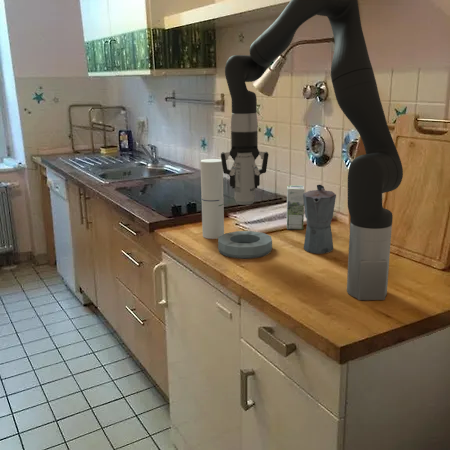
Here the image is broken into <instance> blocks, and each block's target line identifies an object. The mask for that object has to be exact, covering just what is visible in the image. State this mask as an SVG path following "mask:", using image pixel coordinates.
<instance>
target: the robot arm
mask: <svg viewBox="0 0 450 450" xmlns="http://www.w3.org/2000/svg"><path fill="white" fill-rule="evenodd" d="M315 16H322V17H327V19H328V21H329V23H330V27H331V31H332V34H333V39H334V40H333V41H334V51H333V55H332V61H331V65H330V80H331V83H332V87H333V88H332V89H333V92H334V96H335V98H336V99H335V100H336V102H337V104H338V106H339V108H340V109H341V111H342V113H343V114H344V116H345V117H346V118H347V119H348V120H349V123H351V124H352V126H353V127H354V128H355V130H356V131H357V132H358V134H359V136H360V138H361V141H362V144H363V147H364V151H365V154H361V155H358V156H355V158H354V159H353V160H352V161H351V163H350V165H349V167H348V172H347V209H348V213H349V215H350V220H349V221H350V222H349V223H350V224H349V239H348V240H349V242H348V257H347V259H348V260H347V280H346V292H347V294H348V295H349V296H351V297H353V298H355V299H357V300H358V301H385V300H386V297H387V295H388V294H387V293H388V282H389V267H390V256H391V255H390V254H391V239H392V231H393V230H392V228H393V215H394V214H393V213H392V211H391V210H389V209H387V208H385V207H384V206H383V194H385V193H388V192H389V193H390V192H392V191H395V190H397V189H398V188H399V186H400V185H401V183H402V181H403V178H404V177H403V176H404V169H403V165H402V160H401V157H400V155H399V153H398V150H397V147H396V145H395V142H394V139H393V136H392V134H391V132H390V127H389V126H388V122H387V119H386V115H385V111H384V108H383V104H382V101H381V98H380V93H379V90H378V84H377V80H376V77H375V72H374V69H373V67H372V63H371V60H370V56H369V51H368V48H367V43H366V40H365V36H364V31H363V27H362V21H361V15H360V8H359V1H358V0H290V1H289V2H288V4H287V5H286V6H285V8H284V9H283V10H282V12H280V14H279V15H278V17H277V18H276V19H275V20H274V21H273V23H271V24H270V26H269V27H267V29H265V30H264V31H263V32H262V33H261V34H260V35H259V36H258V37H257V38H256V39H255V40H254V41H253V42H252V43H251V45H250V46H249V55H248V54H247V55H245V54H244V55H243V54H242V55H241V54H235V55H231V56H229V58H228V59H227V61H226V63H225V67H224V74H225V80H226V83H227V87H228V90H229V95H230V98H231V99H230V100H231V118H230V119H231V120H230V142H231V143H230V147H231V148H230V150H229V151H227V152H224V151H223V152H220V159H221V160H222V166H223V175H224V174H225V175H228V176H229V186H230V187H232V189H235V177H234V173H235V169H236V161H235V157H236V156H237V153H251V152H252V155H253V157H254V160H255V162H254V160H253V164H254V165H253V168H254V171H255V189H258V187H259V186H260V185H261V180H260V177H261V175H263V174H265V173H267V169H268V161H269V152H268V151H260V150H259V147H258V143H259V142H258V138H259V137H258V134H259V133H258V128H259V127H258V115H257V104H258V103H257V94H256V92H254V91H251V90H248V88H247V85H246V83H253V82H255V81H257V80H259V79H260V78H261V77H262V76H263V75H264V74H265V72H267V69H268V68H269V66H270V65H271V63H273V61H275V60H276V59H277V58H278V57H279V56H281V55H282V54H283V53H284V52H285V51H286V50H287V49H288V48H289V46H290V45H291V43H292V41H293V39H294V36H295V35H296V32H297V30H298V29H299V28H300V27H301V26H302V25H303V24H304V23H305V22H307V21H309V20H311V18H313V17H315ZM239 155H240V154H239ZM239 155H238V157H239ZM249 155H250V156H251V154H249ZM259 156H260V159H261V160H262V162H261V163H262V164H261V168H258V166H257V163H256V159H257V158H258V157H259ZM229 157H231V158H232V160H233V164H232V166H231V168H230V169H229V168H228V164H227V161H228V160H229ZM238 157H237V158H238ZM251 157H252V156H251ZM234 161H235V163H234Z"/></svg>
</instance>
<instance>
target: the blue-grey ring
mask: <svg viewBox="0 0 450 450" xmlns="http://www.w3.org/2000/svg"><path fill="white" fill-rule="evenodd" d="M217 240H218V241H217V249H218V253H219V254H220V255H222V256H225V257H228V258H232V259H238V260H239V259H240V260H241V259H242V260H243V259H244V260H247V259H258V258H261V257H265V256H268V255H269V254H270V253H271V252H272V249H273V240H272V236H271V235H269V234H267V233H265V232H259V231H254V230H237V231H231V232H224V234H223V235H221V236H219V237H218V239H217Z"/></svg>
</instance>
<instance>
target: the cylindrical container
mask: <svg viewBox="0 0 450 450" xmlns="http://www.w3.org/2000/svg"><path fill="white" fill-rule="evenodd" d="M200 190H201V191H200V194H201V196H200V198H201V227H202V228H201V229H202V237H203V238H204V239H209V240H215V239H216V240H218V237H219V236H221V235H223V234H225V216H224V214H225V212H224V211H225V210H224V208H225V207H224V172H223V166H222V160H221V158H206V159H201V160H200Z"/></svg>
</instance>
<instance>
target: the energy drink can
mask: <svg viewBox="0 0 450 450" xmlns="http://www.w3.org/2000/svg"><path fill="white" fill-rule="evenodd" d="M239 154H240V155H239ZM249 154H251V156H252V157H251V156H250V155H249ZM238 155H239V157H238ZM237 157H238V158H237ZM253 160H254V157H253V155H252V152H251V153H237V156H236V157H235V161H236V169H235V173H234V177H235V188H234V201H235V202H236V205H237V204H238V205H240V206H241V205H243V206H245V205H253V204H254V201H256V188H255V171H254V168H253V165H254V164H253ZM235 161H234V160H233V163H235ZM254 162H255V163H256V160H254Z"/></svg>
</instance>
